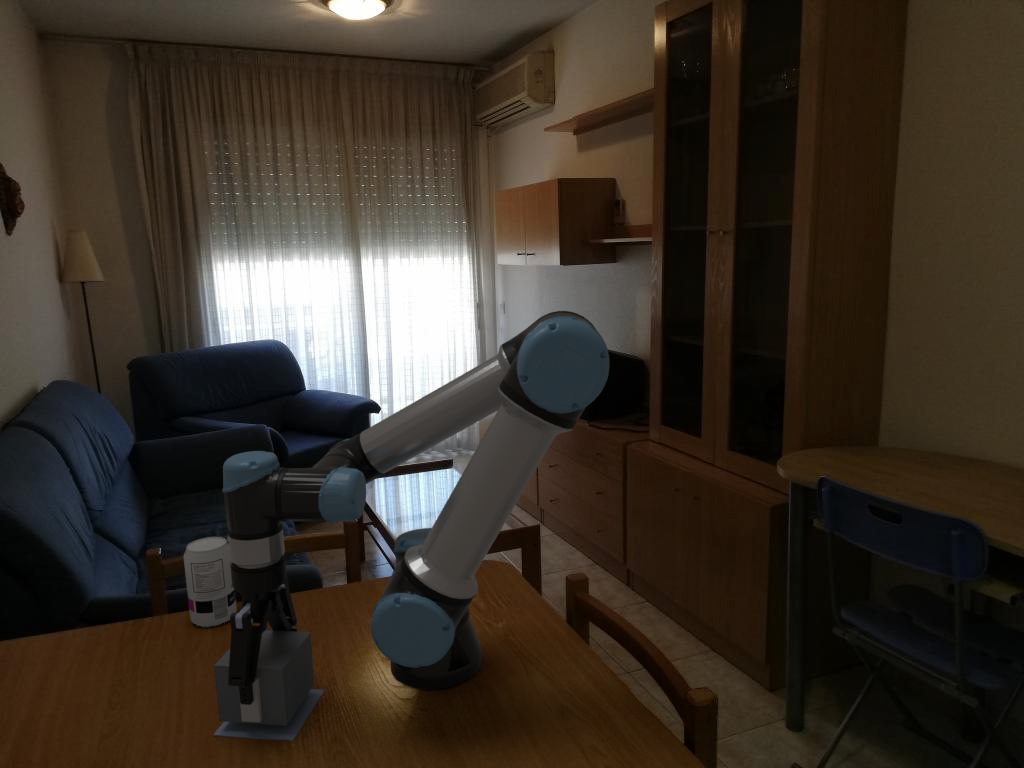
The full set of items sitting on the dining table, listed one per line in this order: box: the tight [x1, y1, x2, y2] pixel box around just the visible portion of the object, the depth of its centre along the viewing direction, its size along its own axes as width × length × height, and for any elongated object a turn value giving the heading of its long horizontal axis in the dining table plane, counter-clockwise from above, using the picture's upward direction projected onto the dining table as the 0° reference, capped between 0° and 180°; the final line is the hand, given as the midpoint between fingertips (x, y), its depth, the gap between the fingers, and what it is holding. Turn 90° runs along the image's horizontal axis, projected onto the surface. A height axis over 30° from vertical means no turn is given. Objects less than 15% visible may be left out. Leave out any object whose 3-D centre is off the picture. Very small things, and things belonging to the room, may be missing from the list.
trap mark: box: [213, 688, 326, 742], centre depth 110 cm, size 12×12×1 cm
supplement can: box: [183, 536, 238, 628], centre depth 138 cm, size 8×8×15 cm
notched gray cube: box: [213, 629, 315, 726], centre depth 109 cm, size 10×10×9 cm
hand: (269, 697), depth 110 cm, fingers closed on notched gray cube, 10 cm apart
